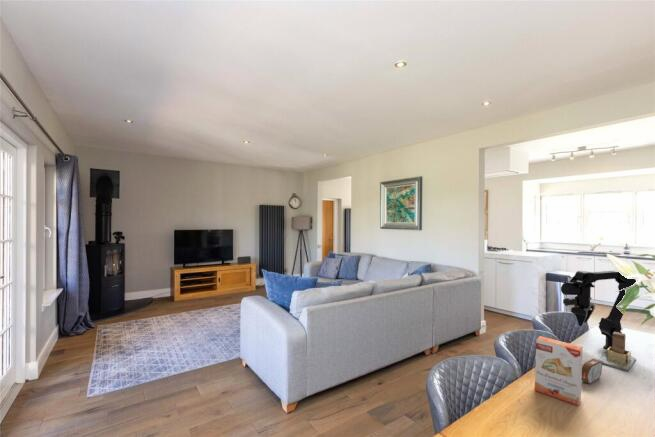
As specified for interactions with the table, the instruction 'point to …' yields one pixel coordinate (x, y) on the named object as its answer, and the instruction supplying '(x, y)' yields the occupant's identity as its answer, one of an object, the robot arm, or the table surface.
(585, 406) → the table surface
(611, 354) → the base plate
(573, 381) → the cracker box
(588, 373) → the tin
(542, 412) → the table surface
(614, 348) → the brown square block
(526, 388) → the table surface
